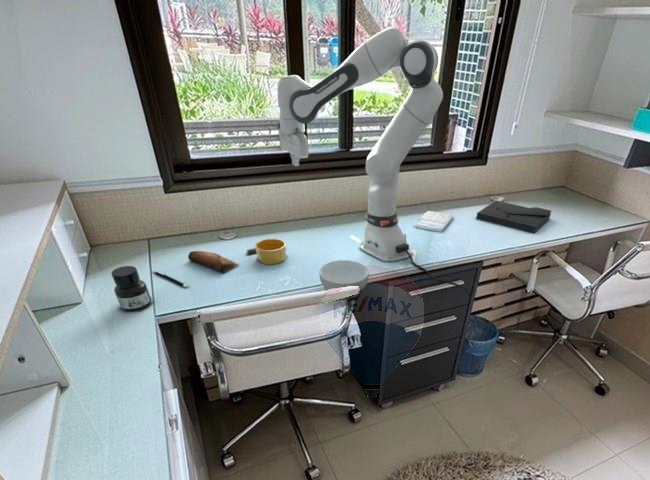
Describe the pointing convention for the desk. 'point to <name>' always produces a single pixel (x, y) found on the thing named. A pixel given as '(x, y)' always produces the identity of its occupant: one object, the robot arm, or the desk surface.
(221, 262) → the sunglasses case
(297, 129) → the robot arm
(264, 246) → the glazed bowl
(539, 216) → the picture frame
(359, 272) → the cereal bowl
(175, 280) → the pen
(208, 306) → the desk surface
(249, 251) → the strip
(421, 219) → the white folded towel
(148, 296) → the ink bottle
